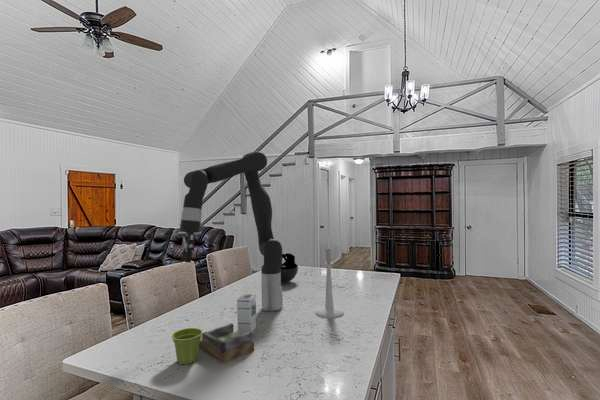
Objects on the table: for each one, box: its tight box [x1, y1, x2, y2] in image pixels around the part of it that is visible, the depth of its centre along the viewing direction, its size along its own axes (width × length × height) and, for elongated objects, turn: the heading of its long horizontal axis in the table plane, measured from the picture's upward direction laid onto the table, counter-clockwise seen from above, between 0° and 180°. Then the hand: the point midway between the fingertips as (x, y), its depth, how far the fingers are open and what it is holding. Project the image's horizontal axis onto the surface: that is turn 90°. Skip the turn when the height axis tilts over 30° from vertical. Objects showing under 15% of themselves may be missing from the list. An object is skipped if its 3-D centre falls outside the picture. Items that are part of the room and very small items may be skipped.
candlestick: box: [314, 247, 344, 319], centre depth 144 cm, size 13×13×30 cm
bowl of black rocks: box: [281, 253, 299, 284], centre depth 200 cm, size 20×20×19 cm
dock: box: [198, 322, 255, 364], centre depth 111 cm, size 12×20×6 cm, turn 47°
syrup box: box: [236, 293, 258, 337], centre depth 123 cm, size 6×6×14 cm
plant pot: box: [171, 327, 203, 365], centre depth 102 cm, size 9×9×9 cm
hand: (186, 261), depth 122 cm, fingers open, 8 cm apart
